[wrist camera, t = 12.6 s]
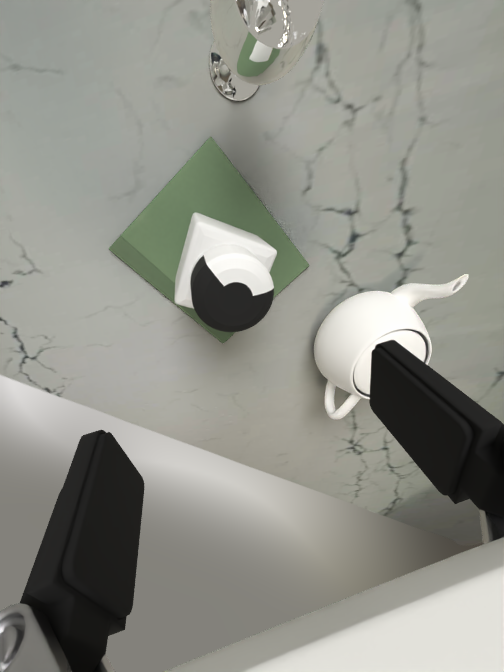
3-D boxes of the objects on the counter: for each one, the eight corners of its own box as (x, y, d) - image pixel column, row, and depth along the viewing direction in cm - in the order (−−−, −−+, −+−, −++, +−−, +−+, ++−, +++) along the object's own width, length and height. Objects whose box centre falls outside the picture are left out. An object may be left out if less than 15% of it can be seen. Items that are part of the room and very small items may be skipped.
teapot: (344, 398, 45) (385, 454, 36) (274, 373, 40) (302, 432, 31) (441, 277, 38) (524, 309, 29) (372, 227, 33) (447, 247, 23)
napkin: (109, 248, 28) (108, 249, 27) (210, 136, 25) (210, 136, 25) (222, 342, 36) (222, 344, 35) (308, 264, 33) (309, 265, 33)
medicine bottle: (236, 296, 33) (262, 351, 23) (174, 279, 30) (171, 331, 20) (259, 236, 30) (300, 266, 20) (193, 210, 27) (200, 230, 17)
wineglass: (245, 126, 25) (289, 93, 15) (187, 74, 23) (193, -7, 13) (283, 58, 24) (361, -32, 13) (225, -6, 21) (266, -177, 11)
